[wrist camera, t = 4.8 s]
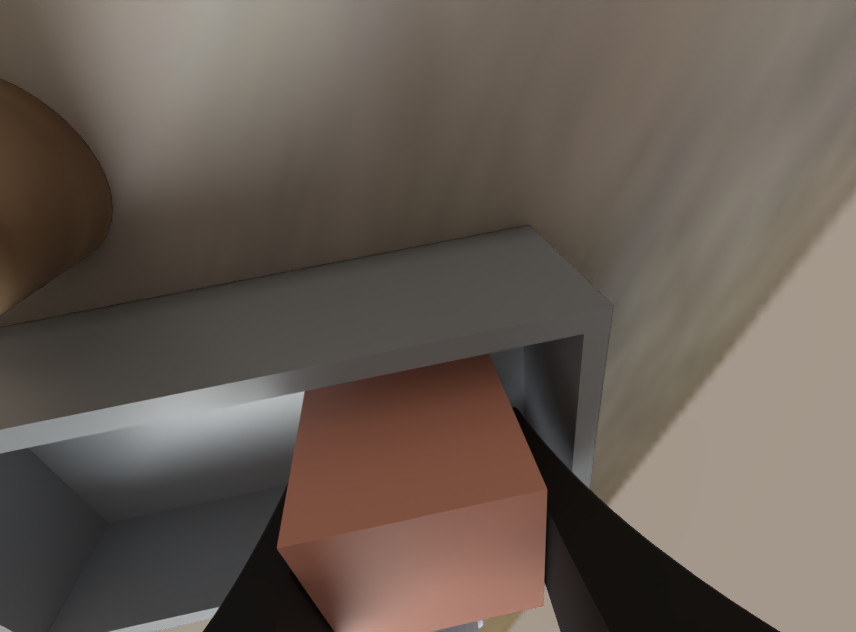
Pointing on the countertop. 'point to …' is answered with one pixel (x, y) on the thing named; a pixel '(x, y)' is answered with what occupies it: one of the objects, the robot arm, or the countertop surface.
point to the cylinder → (44, 196)
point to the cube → (415, 501)
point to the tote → (250, 412)
